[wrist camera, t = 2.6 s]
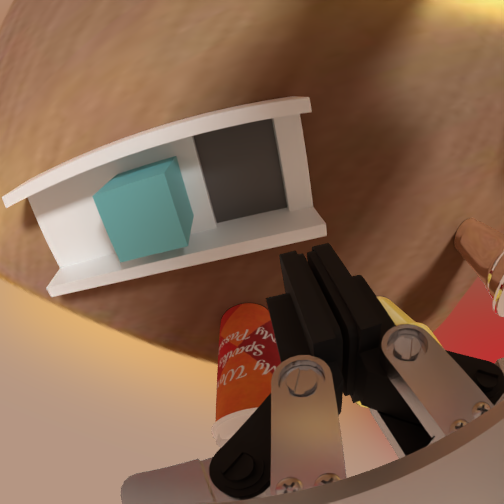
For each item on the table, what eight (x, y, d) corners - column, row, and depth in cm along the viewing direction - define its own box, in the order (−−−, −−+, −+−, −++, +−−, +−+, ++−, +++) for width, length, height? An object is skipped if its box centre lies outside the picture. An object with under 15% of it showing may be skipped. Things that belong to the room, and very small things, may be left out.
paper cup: (265, 283, 29) (295, 411, 17) (292, 331, 32) (322, 442, 20) (195, 312, 30) (190, 438, 18) (230, 354, 33) (238, 464, 21)
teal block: (116, 174, 21) (92, 196, 16) (176, 155, 21) (164, 173, 16) (137, 230, 23) (120, 262, 19) (193, 215, 23) (187, 246, 19)
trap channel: (28, 179, 21) (1, 197, 17) (292, 96, 20) (309, 97, 16) (69, 269, 26) (51, 297, 22) (310, 211, 25) (326, 235, 21)
